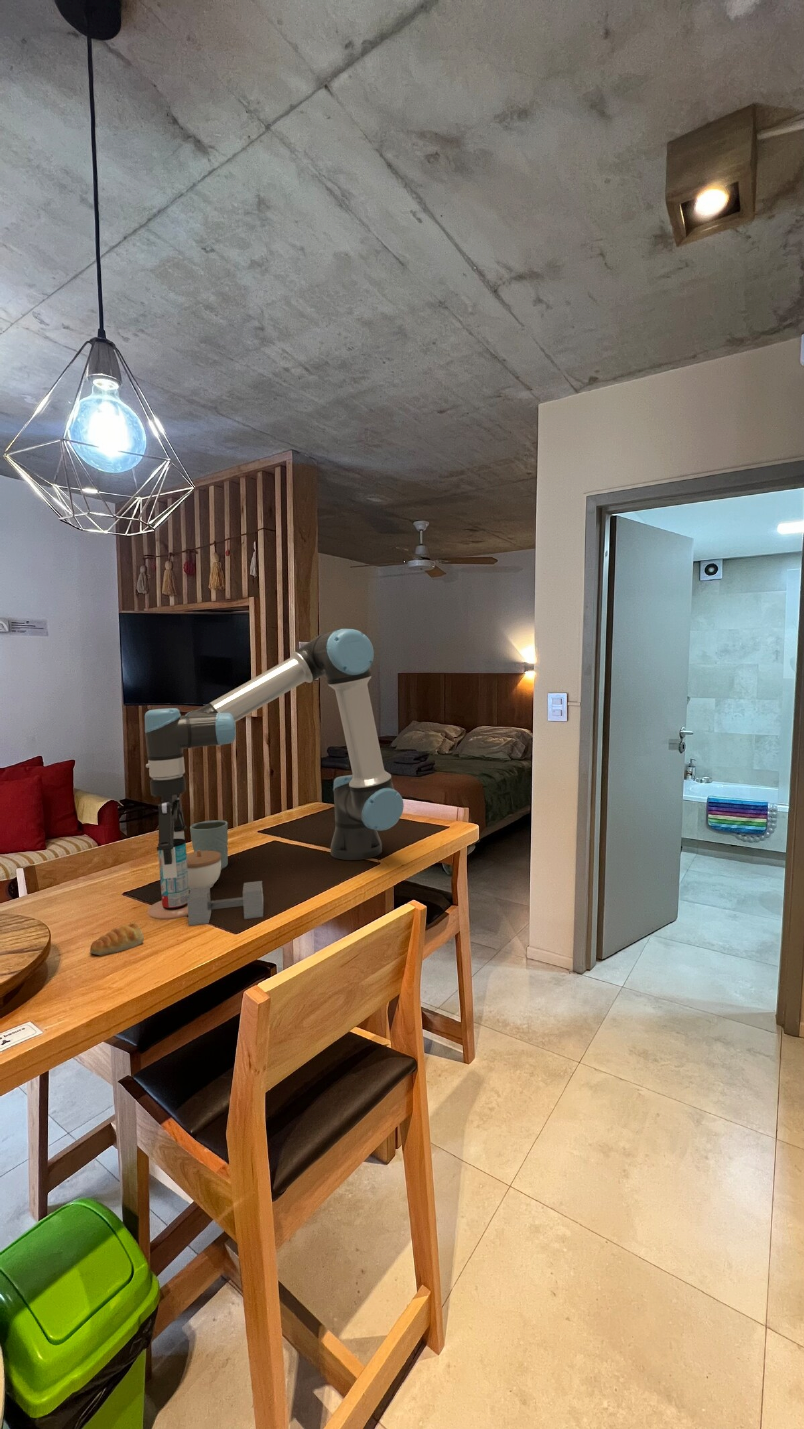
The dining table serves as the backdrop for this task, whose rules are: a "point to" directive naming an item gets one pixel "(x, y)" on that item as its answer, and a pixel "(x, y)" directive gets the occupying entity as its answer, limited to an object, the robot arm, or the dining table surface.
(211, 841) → the green plant pot
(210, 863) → the lidded jar
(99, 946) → the pastry
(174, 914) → the coaster
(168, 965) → the dining table surface
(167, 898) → the beverage can
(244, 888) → the dumbbell
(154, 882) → the dining table surface
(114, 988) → the dining table surface
